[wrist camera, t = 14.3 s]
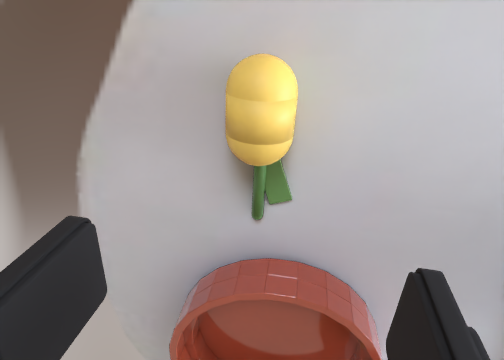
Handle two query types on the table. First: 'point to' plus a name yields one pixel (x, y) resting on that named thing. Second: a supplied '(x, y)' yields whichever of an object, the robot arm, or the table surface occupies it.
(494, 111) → the table surface
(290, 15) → the table surface
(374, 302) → the table surface
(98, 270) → the robot arm
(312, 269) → the bowl
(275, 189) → the tulip
